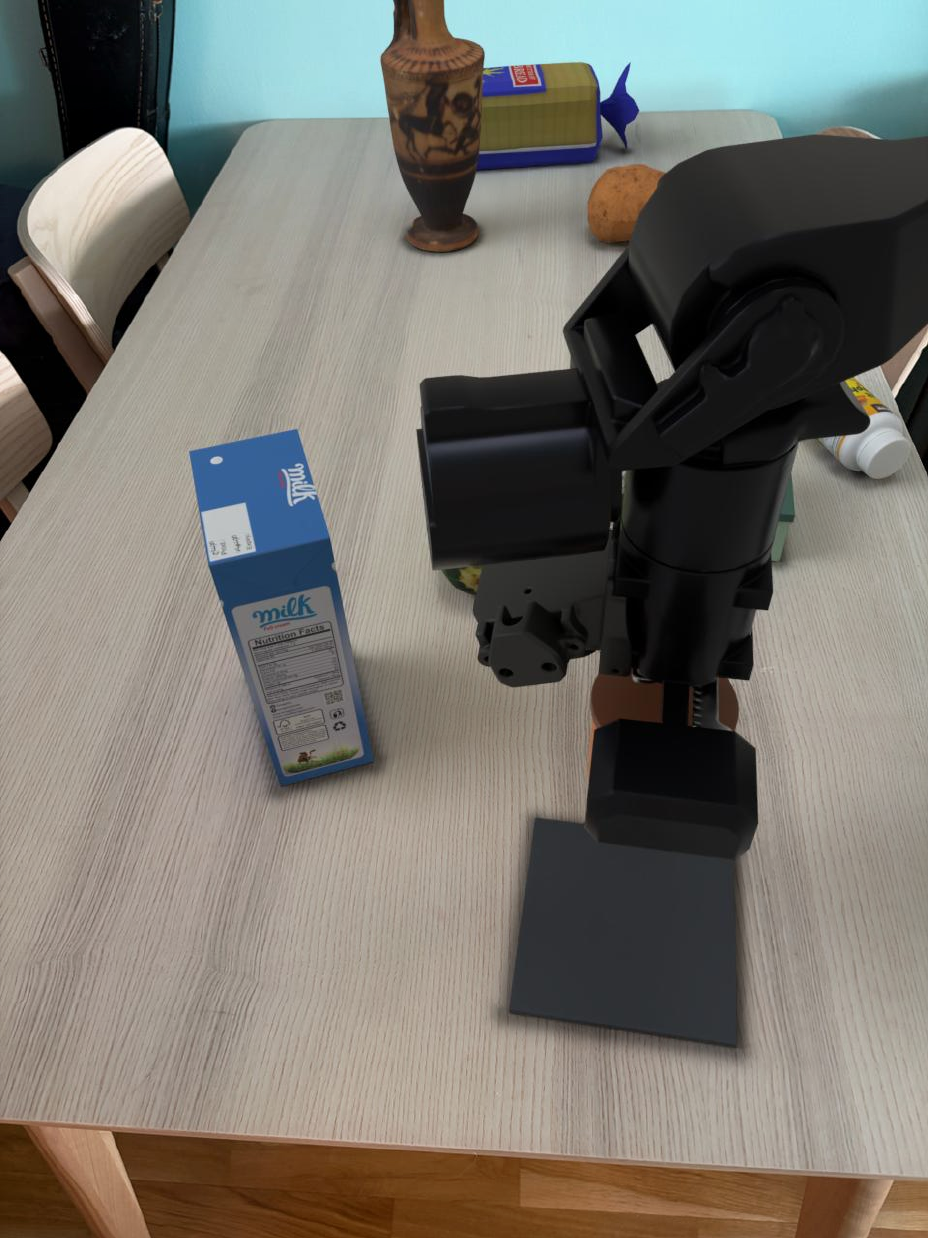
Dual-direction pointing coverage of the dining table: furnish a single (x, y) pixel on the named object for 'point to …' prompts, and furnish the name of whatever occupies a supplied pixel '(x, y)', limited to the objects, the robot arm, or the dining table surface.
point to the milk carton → (282, 602)
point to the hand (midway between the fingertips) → (655, 759)
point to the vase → (434, 120)
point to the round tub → (646, 703)
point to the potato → (620, 200)
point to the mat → (627, 938)
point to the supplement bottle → (872, 439)
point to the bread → (548, 114)
